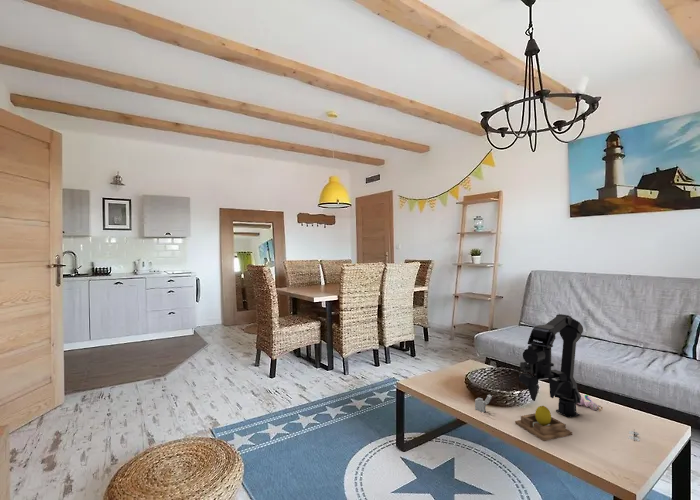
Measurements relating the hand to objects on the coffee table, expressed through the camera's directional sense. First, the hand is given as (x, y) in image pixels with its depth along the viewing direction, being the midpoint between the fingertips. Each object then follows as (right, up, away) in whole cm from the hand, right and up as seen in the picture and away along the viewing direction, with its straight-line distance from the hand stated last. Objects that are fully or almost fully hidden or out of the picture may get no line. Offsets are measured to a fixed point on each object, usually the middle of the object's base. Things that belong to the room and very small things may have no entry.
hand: (542, 399), depth 141 cm
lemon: (0, -11, 0) cm, 11 cm away
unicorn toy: (+29, -12, +21) cm, 38 cm away
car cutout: (+34, -13, -3) cm, 36 cm away
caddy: (0, -12, 0) cm, 12 cm away
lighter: (-18, -12, +15) cm, 26 cm away
